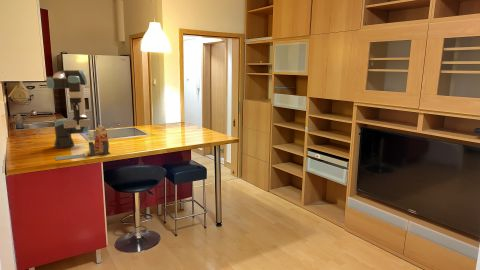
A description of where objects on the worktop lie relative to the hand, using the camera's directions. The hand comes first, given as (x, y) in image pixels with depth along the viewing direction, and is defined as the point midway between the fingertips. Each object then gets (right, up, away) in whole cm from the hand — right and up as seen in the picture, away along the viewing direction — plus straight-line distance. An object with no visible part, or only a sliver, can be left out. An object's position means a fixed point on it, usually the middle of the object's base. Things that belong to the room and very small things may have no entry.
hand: (77, 128), depth 250 cm
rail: (0, +1, 0) cm, 1 cm away
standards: (+11, -20, +11) cm, 25 cm away
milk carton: (+7, -17, +27) cm, 33 cm away
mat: (-6, -22, +1) cm, 22 cm away
